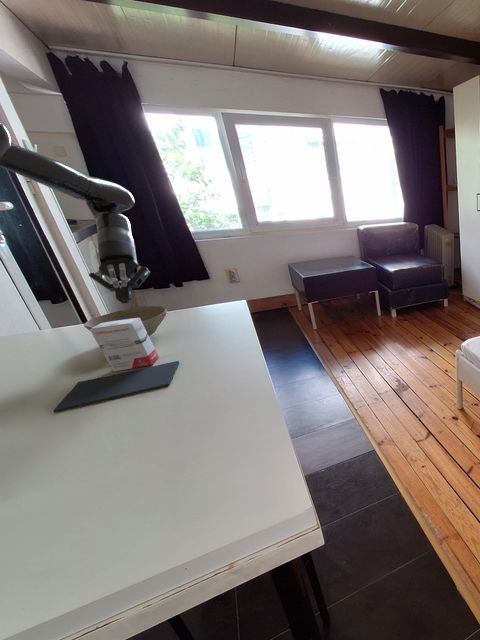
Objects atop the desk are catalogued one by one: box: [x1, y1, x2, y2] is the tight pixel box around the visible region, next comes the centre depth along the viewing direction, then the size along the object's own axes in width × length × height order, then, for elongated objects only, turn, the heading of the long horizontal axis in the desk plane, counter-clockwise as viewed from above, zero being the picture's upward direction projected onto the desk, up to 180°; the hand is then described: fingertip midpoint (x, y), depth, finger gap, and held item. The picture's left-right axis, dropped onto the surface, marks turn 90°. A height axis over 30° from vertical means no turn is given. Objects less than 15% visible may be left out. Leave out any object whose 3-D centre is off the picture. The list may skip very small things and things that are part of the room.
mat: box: [53, 360, 180, 413], centre depth 85 cm, size 20×13×1 cm, turn 117°
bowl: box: [83, 305, 168, 337], centre depth 107 cm, size 18×18×8 cm
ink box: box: [89, 318, 160, 372], centre depth 92 cm, size 8×5×12 cm, turn 109°
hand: (124, 301), depth 97 cm, fingers closed
